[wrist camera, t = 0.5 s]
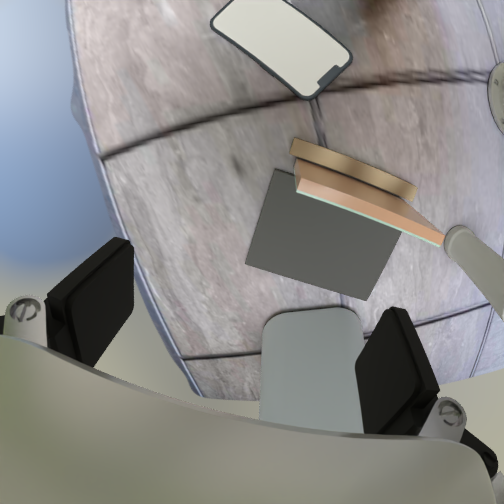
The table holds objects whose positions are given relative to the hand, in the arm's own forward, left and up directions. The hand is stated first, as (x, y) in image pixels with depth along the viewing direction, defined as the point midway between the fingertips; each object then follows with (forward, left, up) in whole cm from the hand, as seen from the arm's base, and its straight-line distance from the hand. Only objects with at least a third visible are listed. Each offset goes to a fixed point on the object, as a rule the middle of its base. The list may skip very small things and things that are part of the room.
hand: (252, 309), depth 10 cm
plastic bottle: (-14, +24, -28) cm, 39 cm away
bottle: (-27, 0, -28) cm, 39 cm away
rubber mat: (-8, +6, -28) cm, 30 cm away
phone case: (+5, -16, -28) cm, 33 cm away
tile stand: (-8, -4, -28) cm, 29 cm away
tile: (-8, -1, -27) cm, 28 cm away
